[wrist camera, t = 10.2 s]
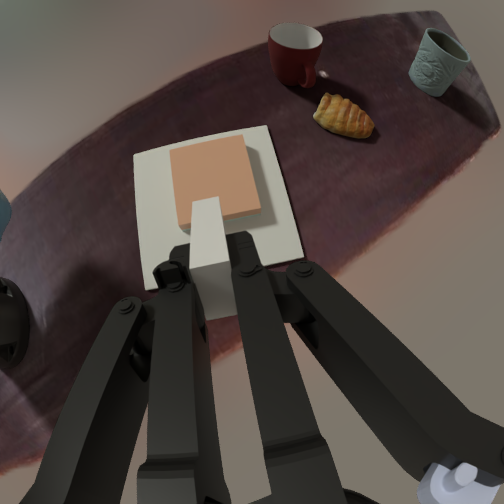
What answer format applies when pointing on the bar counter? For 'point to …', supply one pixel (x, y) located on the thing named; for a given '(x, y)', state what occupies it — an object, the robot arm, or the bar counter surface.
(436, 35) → the green ceramic cup
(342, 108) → the pastry
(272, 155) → the mat
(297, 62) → the mug
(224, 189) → the tile
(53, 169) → the bar counter surface
